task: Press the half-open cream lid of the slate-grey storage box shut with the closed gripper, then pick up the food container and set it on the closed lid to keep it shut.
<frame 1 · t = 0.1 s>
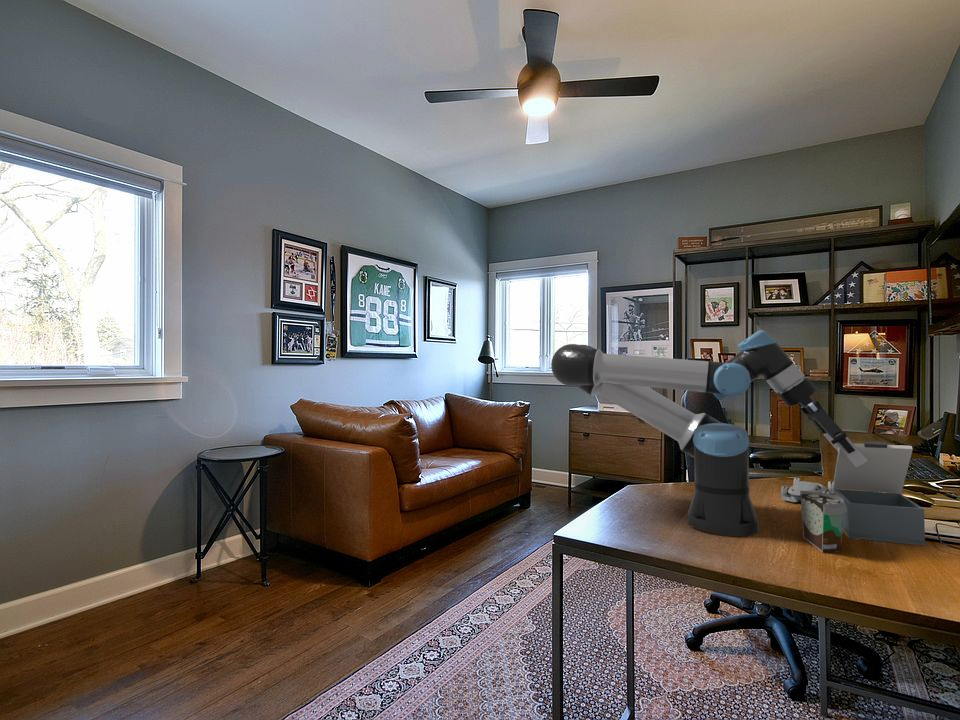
hand: (854, 458, 121), 15 cm above the table, tool tilted 35°, fingers open, 13 cm apart
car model: (808, 499, 146), on the table
storage box: (876, 531, 115), on the table
box lid: (870, 466, 118), point 14 cm above the table, hinge at 55.0°
food container: (828, 546, 107), on the table
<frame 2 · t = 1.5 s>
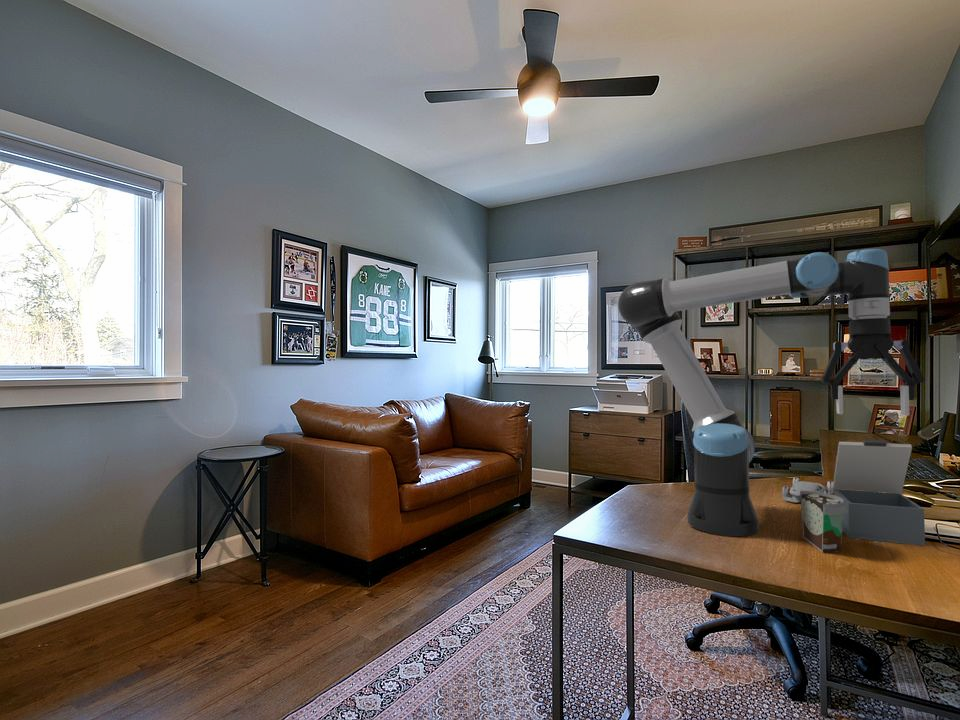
hand: (871, 414, 117), 26 cm above the table, tool pointing down, fingers open, 11 cm apart
box lid: (870, 466, 119), point 14 cm above the table, hinge at 57.0°
everything else where it was.
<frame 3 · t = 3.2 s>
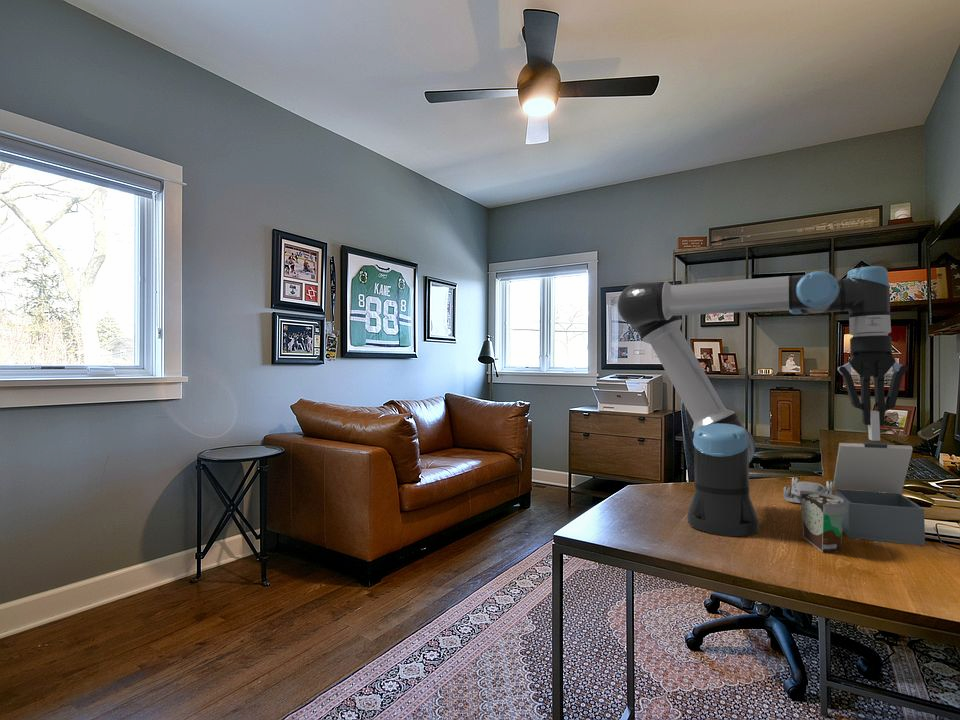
hand: (874, 439, 116), 21 cm above the table, tool pointing down, fingers closed
box lid: (870, 466, 118), point 14 cm above the table, hinge at 55.0°, touching gripper
everything else where it was.
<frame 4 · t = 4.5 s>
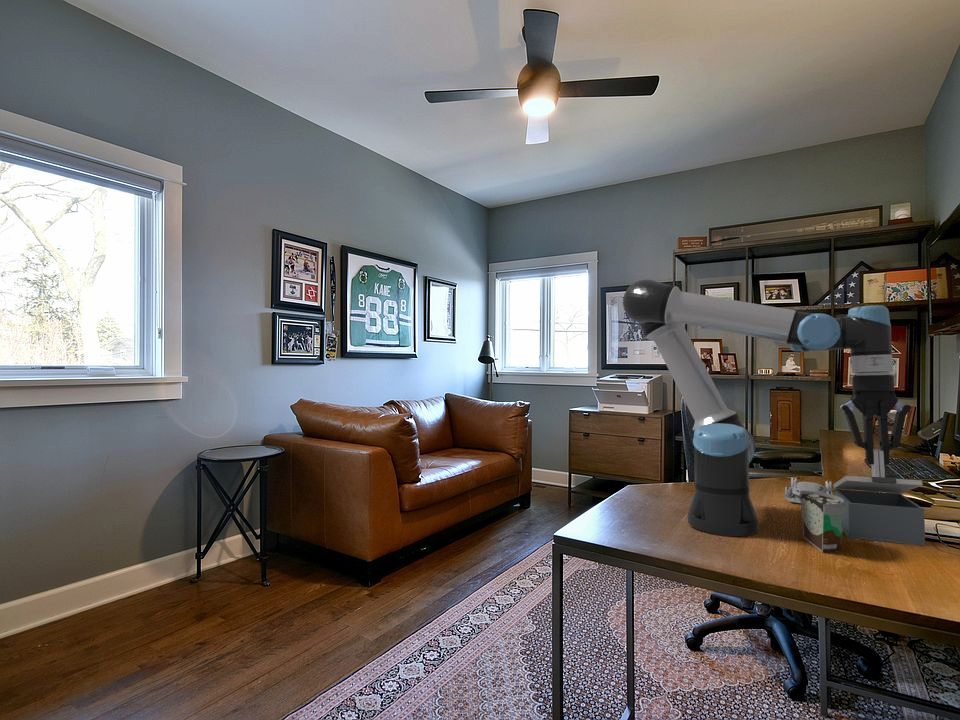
hand: (878, 479, 115), 12 cm above the table, tool pointing down, fingers closed
box lid: (875, 484, 116), point 11 cm above the table, hinge at 19.5°, touching gripper
everything else where it was.
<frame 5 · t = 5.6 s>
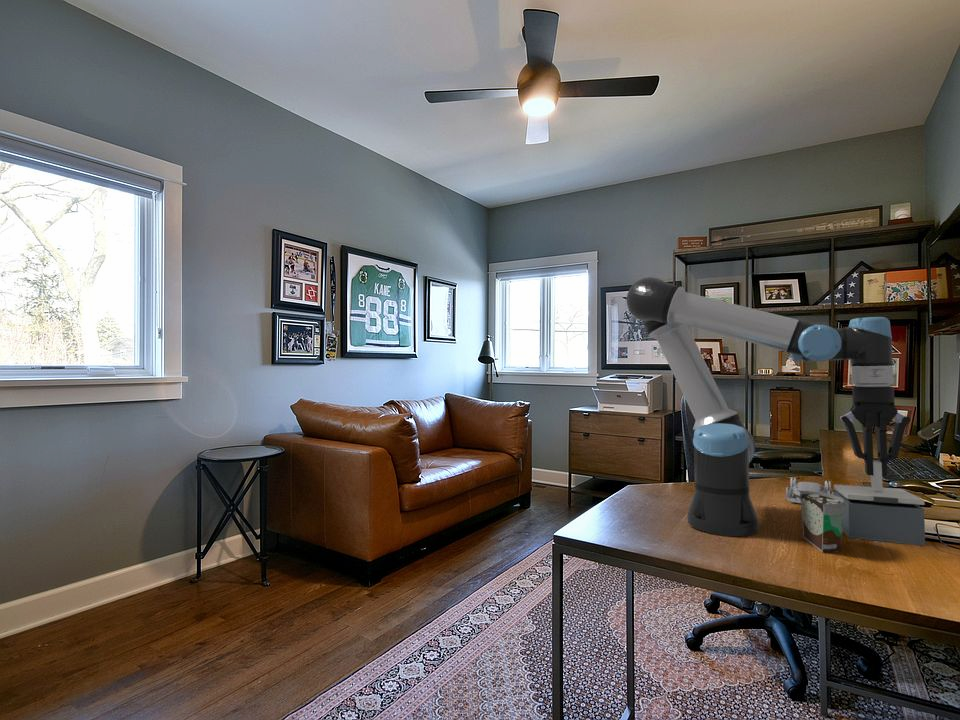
hand: (876, 490, 116), 9 cm above the table, tool pointing down, fingers closed
box lid: (876, 494, 115), point 9 cm above the table, hinge at 3.2°, touching gripper
everything else where it was.
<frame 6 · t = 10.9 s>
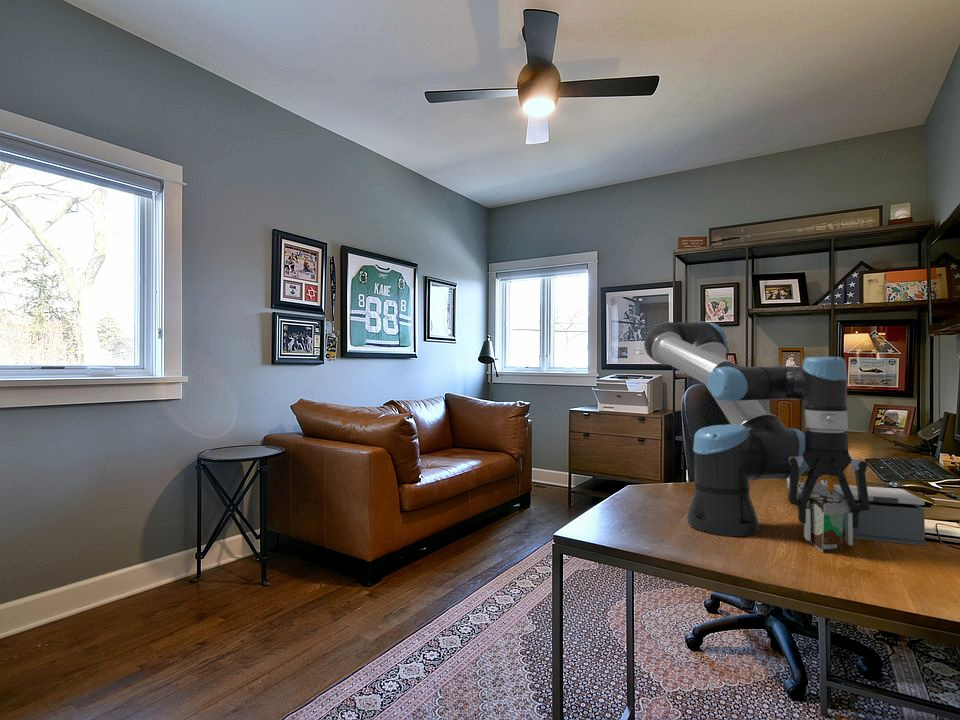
hand: (828, 540, 107), 1 cm above the table, tool pointing down, fingers closed on food container, 7 cm apart
box lid: (876, 494, 115), point 9 cm above the table, hinge at 3.2°
food container: (829, 546, 107), on the table, touching gripper
when the fingers open (11 cm above the table, at t = 16.0 s): food container drops 1 cm, resting on box lid.
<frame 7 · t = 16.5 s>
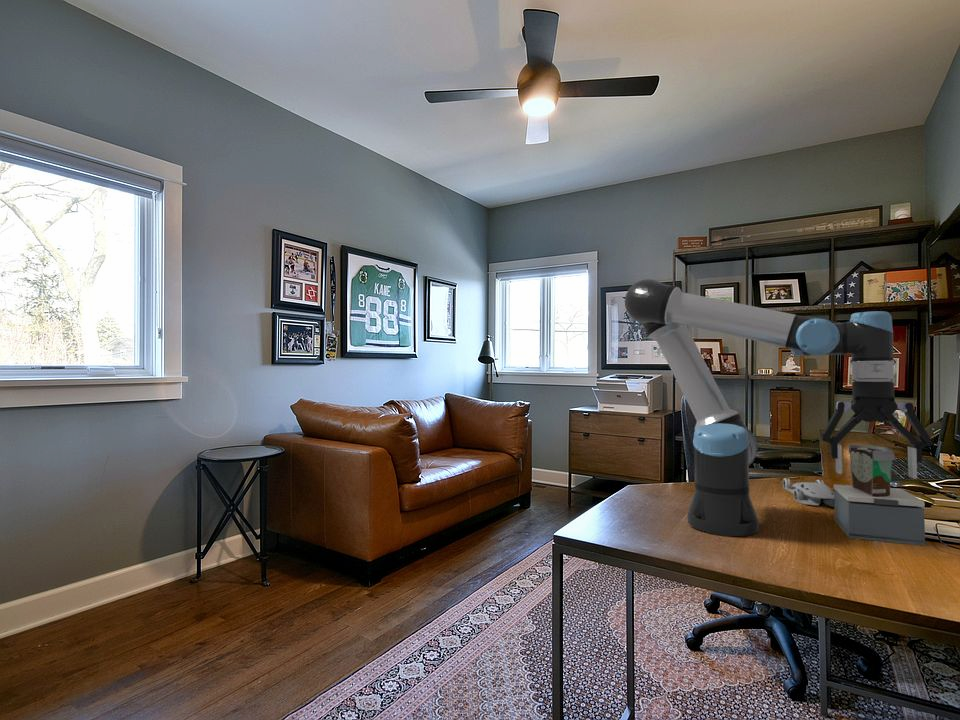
hand: (875, 475, 115), 13 cm above the table, tool pointing down, fingers open, 13 cm apart
box lid: (876, 495, 115), point 8 cm above the table, hinge at 1.5°, touching food container
food container: (877, 493, 115), point 9 cm above the table, touching box lid
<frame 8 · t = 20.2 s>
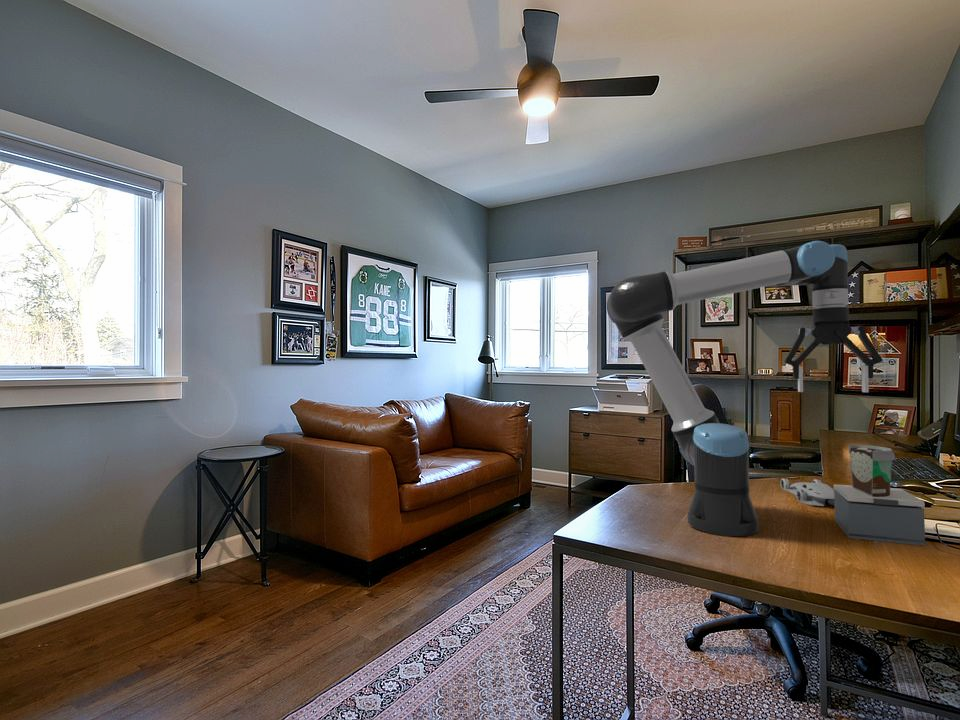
hand: (832, 392, 129), 31 cm above the table, tool pointing down, fingers open, 13 cm apart
at the end: box lid at +2° (first picture: +55°); food container inside the target area on the storage box (0.4 cm from its centre), point 8.6 cm above the storage box's base; food container tilted 1° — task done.
